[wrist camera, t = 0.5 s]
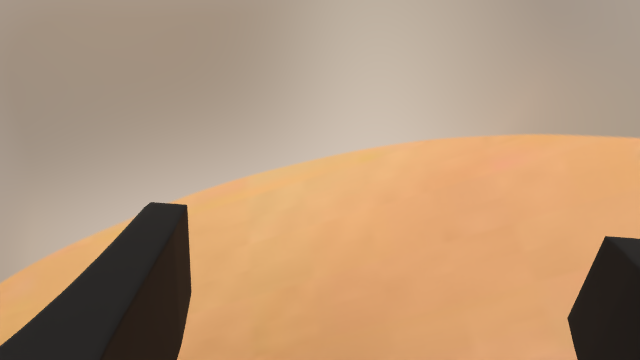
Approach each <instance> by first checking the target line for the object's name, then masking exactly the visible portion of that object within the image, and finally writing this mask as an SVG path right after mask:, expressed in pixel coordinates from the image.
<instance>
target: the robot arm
mask: <svg viewBox="0 0 640 360" xmlns="http://www.w3.org/2000/svg"><path fill="white" fill-rule="evenodd" d="M190 297H191V274H190V254H189V233H188V213H187V205H181V204H167V203H154V202H151V203H149V204H148V205H147V206H146V207H144V209H143V210H142V211H141V212H140V213H139V214H138V215H137V216H136V217H135V218H134V219H133V221H132V222H131V223H130V224H129V225H128V226H127V227H126V228H125V229H124V230H123V231H122V233H121V234H120V235H119V236H118V237H117V238H116V239H115V240H114V241H113V242H112V243H111V244H110V245H109V246H108V247H107V248H106V249H105V251H104V252H103V253H102V254H101V255H100V256H99V257H98V258H97V259H96V260H95V261H94V262H93V263H92V264H91V265H90V266H89V267H88V268H87V269H86V270H85V271H84V272H83V273H82V274H81V275H80V276H79V277H78V278H77V279H76V280H75V281H74V282H72V283H71V284H70V285H69V286H68V287H67V288H66V289H65V290H64V291H63V292H62V293H61V294H60V295H59V296H58V297H56V298H55V299H54V300H53V301H52V302H51V303H50V304H49V305H47V306H46V307H45V308H44V309H43V310H42V311H41V312H40V313H39V314H37V315H36V316H35V317H34V318H33V319H32V320H31V321H30V322H28V323H27V324H26V325H25V326H24V327H23V328H22V329H20V330H19V331H18V332H17V333H16V334H14V335H13V336H12V337H11V338H10V339H8V340H7V341H6V342H5V343H4V344H2V345H1V346H0V360H177V357H178V354H179V351H180V348H181V344H182V339H183V334H184V329H185V324H186V318H187V313H188V308H189V302H190ZM568 322H569V327H570V331H571V335H572V339H573V344H574V348H575V351H576V355H577V359H578V360H640V239H634V238H621V237H608V236H605V238H604V240H603V243H602V245H601V247H600V249H599V251H598V253H597V256H596V258H595V260H594V262H593V264H592V266H591V269H590V271H589V273H588V275H587V277H586V279H585V282H584V284H583V286H582V288H581V290H580V292H579V295H578V297H577V299H576V301H575V303H574V305H573V308H572V310H571V312H570V314H569V316H568Z"/></svg>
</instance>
